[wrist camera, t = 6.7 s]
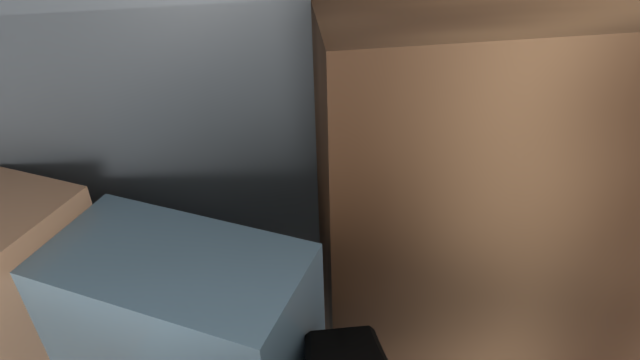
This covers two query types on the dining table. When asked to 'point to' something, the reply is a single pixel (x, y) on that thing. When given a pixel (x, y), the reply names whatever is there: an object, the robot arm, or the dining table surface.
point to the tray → (167, 104)
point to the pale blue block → (171, 287)
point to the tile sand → (29, 247)
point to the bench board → (481, 175)
